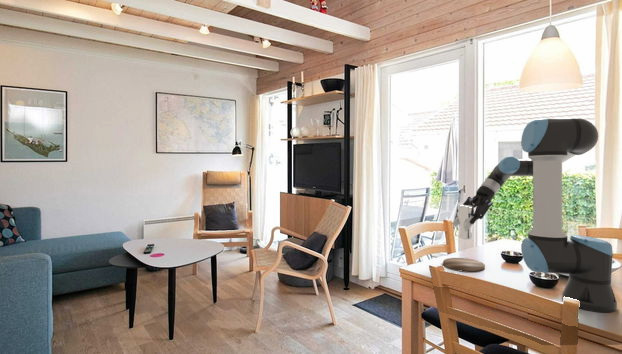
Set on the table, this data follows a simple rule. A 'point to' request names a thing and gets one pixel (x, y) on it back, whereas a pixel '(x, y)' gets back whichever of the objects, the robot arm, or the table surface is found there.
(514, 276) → the table surface
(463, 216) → the beer glass
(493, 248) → the table surface
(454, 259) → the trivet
